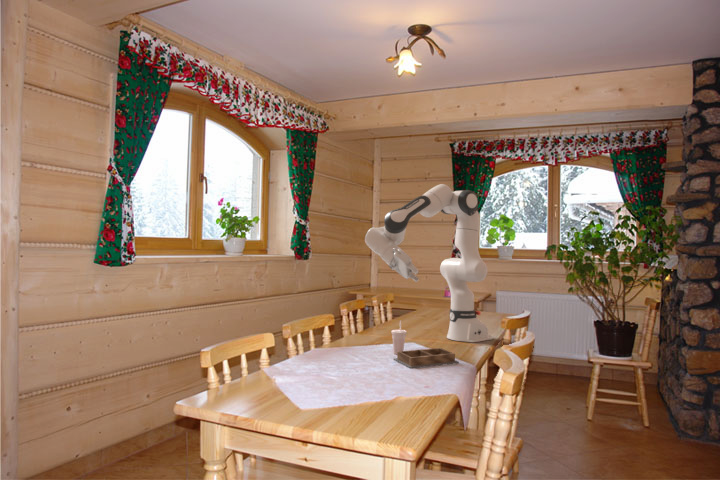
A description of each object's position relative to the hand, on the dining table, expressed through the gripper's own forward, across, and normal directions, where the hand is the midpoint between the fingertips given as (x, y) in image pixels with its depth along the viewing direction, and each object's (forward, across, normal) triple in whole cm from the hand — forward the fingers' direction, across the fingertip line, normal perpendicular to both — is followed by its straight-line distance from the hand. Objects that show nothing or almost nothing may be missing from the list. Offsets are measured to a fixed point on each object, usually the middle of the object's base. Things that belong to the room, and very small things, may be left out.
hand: (417, 276), depth 201 cm
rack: (+26, +2, +23) cm, 35 cm away
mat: (+26, +2, +23) cm, 35 cm away
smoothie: (+15, +10, +28) cm, 33 cm away
